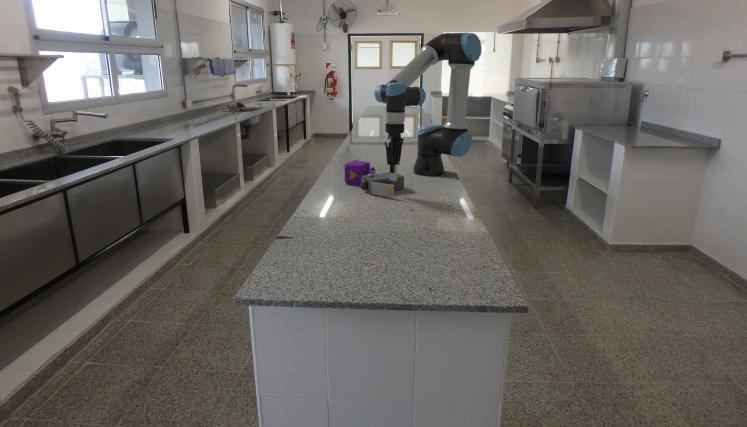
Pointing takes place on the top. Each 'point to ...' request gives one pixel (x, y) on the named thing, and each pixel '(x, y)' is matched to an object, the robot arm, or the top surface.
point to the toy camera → (357, 171)
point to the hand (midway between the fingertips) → (393, 180)
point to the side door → (382, 189)
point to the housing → (381, 181)
